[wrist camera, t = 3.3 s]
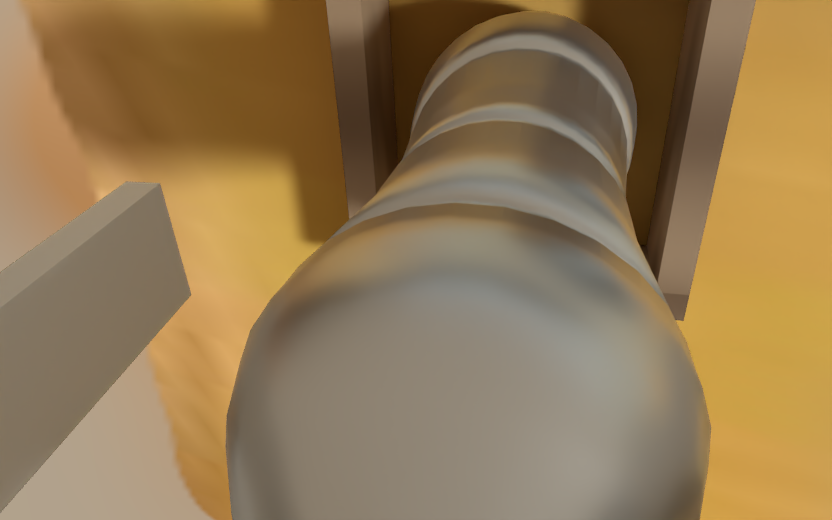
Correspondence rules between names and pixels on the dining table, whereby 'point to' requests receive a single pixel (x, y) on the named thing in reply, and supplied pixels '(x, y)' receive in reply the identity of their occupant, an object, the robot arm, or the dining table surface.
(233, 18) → the dining table surface
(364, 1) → the walnut collar
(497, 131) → the silver metal bottle
